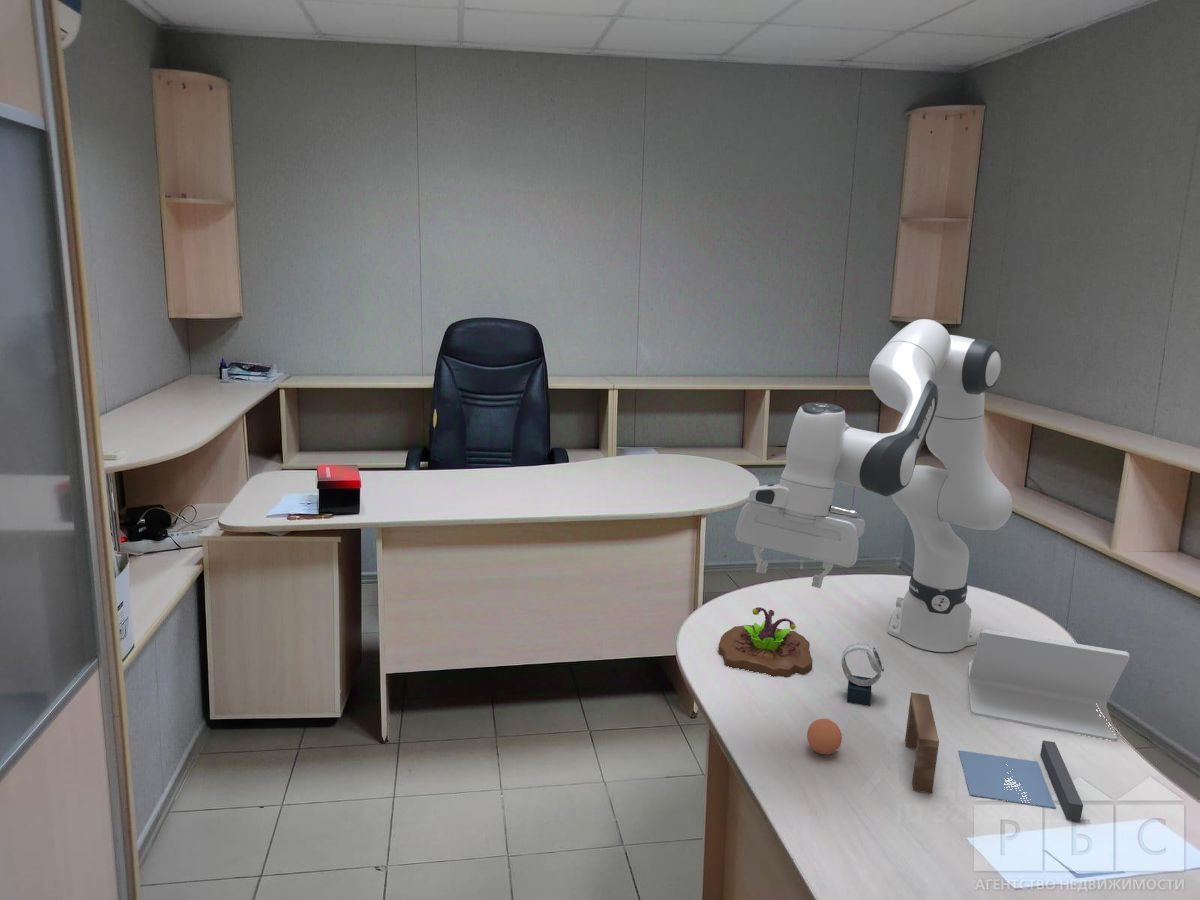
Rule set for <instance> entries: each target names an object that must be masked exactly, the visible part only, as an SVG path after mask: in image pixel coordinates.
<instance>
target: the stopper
mask: <svg viewBox="0 0 1200 900" xmlns="http://www.w3.org/2000/svg"><path fill="white" fill-rule="evenodd" d="M1039 756H1040V758H1041V761H1042V763H1043V765H1044V768H1045V770H1046V772H1047V776H1048V778H1049V780H1050V783H1051V785H1052V788H1053V790H1054V793H1055V796H1056V797H1057V799H1058V802H1059V805H1060V808H1061V810H1062V812H1063V814H1064V815H1063V816H1064V817H1065V819H1066V820H1067V821H1072V822H1079V823H1080V822H1081V819H1082V814H1083V809H1084V804H1083V802H1082V799H1081V797H1080V795H1079V793H1078V790H1077V788H1076V786H1075V784H1074V782H1073V779H1072V777H1071V775H1070V773H1069V771H1068V768H1067V765H1066V763H1065V762H1064V759H1063V757H1062V755H1061V753H1060V751H1059V748H1058V745H1057V743H1056V742H1055V741H1051V740H1042V741H1041V749H1040V755H1039Z"/></svg>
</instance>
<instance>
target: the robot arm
mask: <svg viewBox="0 0 1200 900" xmlns="http://www.w3.org/2000/svg"><path fill="white" fill-rule="evenodd" d="M1001 369H1002V355H1001V352H1000V349H998V347H997V346H996V344H994V343H993V342H991V341H988V340H984V339H981V338H975V339H974V338H971V337H965V336H961V335H956V334H955V335H954V334H950V333H949V332H948V329H946V328H945V327H944V326H943V324H941V323H939V322H938V321H936V320H933V319H929V318H921V319H917V320H913V321H912V322H910V323H908V324H907V325H905V326H904V327H903V328H902V329H900V330H899V331H898V332H897V333H896V334H895V335H894V336H893V337H892V338H891V339H890V340H889V341H887V343H886V344H885V345H884V346H883V348H882V349H881V350H880V351H879V352H878V353H877V354H876V356H875V358H874V359H873V361H872V363H871V364H870V367H869V372H868V377H869V383H870V386H871V389H872V391H873V393H874V394H875V396H876V397H877V398H878V399H879V400H880V401H881V403H883V404H884V405H885V406H887V407H889V408H891V409H893V410H895V411H897V412H900V413H901V414H902V416H901V418H900V419H899V422H898V424H897V426H896V429H895V430H894V431H892V432H882V433H881V432H875V431H871V430H870V431H869V430H865V429H860V428H855V427H853V426H850V425H849V424H848V423H847V422H846V411H845V408H843V407H841V406H839V405H836V404H833V403H827V402H808V403H805V404H802V405H800V407H799V408H798V410H797V412H796V413H795V416H794V419H793V421H792V425H791V427H790V430H789V431H790V432H789V436H788V440H787V444H786V449H785V458H786V459H785V460H786V462H785V465H784V466H785V467H784V469H783V471H782V473H781V476H780V480H779V483H778V484H774V483H771V484H766V485H758V486H755V487H753V488H752V489H751V490H750V492H749V495H748V496H749V497H748V499H749V500H750V501H749V502H747V503H745V505H744V506H743V507H742V509H741V510H740V513H739V516H738V520H737V523H736V526H735V530H734V531H735V532H734V536H735V538H736V540H737V541H738V542H740V543H745V544H749V545H753V548H752V553H753V555H754V558H755V562H756V563H757V564H756V569H755V572H756V573H758V574H761V575H766V573H767V570H768V569H767V568H768V566H769V563H768V562H766V561H764V559H763V555H762V553H763V551H764V550H765V549H769V550H774V551H777V552H781V553H785V554H790V555H794V556H798V557H802V558H806V559H810V560H815V561H819V562H822V569H824V570H823V571H822V572H821V573H820V574H819V575H818V574H813V577H812V582H811V587H813V588H817V589H821V588H822V585H823V580H824V578H825V577H826V576H827V575H828V574H829V573H830V572H831V571H832V569H833V567H834V565H835V566H839V567H844V568H847V569H849V568H851V567H852V566H854V565H855V564H856V563H857V560H858V555H859V554H858V553H859V545H860V544H859V543H860V539H861V538H862V537H863V536H864V533H865V529H866V526H867V525H866V519H865V518H864V516H863V515H861V514H860V513H859V511H856V510H853V509H847V508H843V507H839V506H836V505H832V502H833V497H834V491H835V487H836V482H838V483H841V484H844V485H845V484H846V485H849V486H853V487H856V488H862V489H865V490H866V491H869V492H872V493H874V494H877V495H880V496H883V497H890V496H891V497H892V500H893V502H894V504H895V505H896V506H897V507H898V508H899V509H900V510H901V512H902V513H903V514H904V515H905V517H906V518H907V519H906V520H907V521H908V524H909V525H910V528H911V531H912V535H913V540H914V561H913V572H912V574H911V575H910V578H909V581H908V582H909V583H908V590H907V591H906V593H905V595H904V597H900V596H898V597H896V603H895V609H894V611H893V613H892V616H891V620H890V622H889V626H888V630H887V633H888V634H889V635H891V636H893V637H895V638H898V639H901V640H902V641H903V642H905V643H907V644H909V645H911V646H913V647H915V648H918V649H922V650H925V651H929V652H930V651H931V652H936V653H937V652H938V653H951V652H957V651H960V650H963V649H964V648H967V647H969V646H974V645H977V638H976V636H974V634H973V633H972V632H971V623H972V622H971V619H972V608H971V607H970V605H969V604H968V603H967V602H966V599H967V595H968V583H967V577H968V570H969V569H968V568H969V562H970V552H969V551H970V550H969V547H968V546H967V544H966V542H964V541H963V540H962V538H960V537H959V536H958V535H957V534H956V533H955V532H954V530H953V528H952V527H951V525H950V524H954V525H957V526H961V527H964V528H968V529H973V530H982V531H985V530H986V531H997V530H998V529H1000V528H1002V527H1003V526H1004V525H1005V524H1006V523H1007V522H1008V521H1009V519H1010V517H1011V515H1012V512H1013V508H1014V506H1013V505H1014V504H1013V503H1014V502H1013V499H1012V495H1011V492H1010V490H1009V489H1008V488H1007V486H1005V485H1004V484H1003V483H1002V482H1001V481H1000V480H999V479H998V478H997V476H996V475H995V474H994V472H993V470H992V468H991V467H990V465H989V462H988V461H987V457H986V454H985V450H984V421H985V420H984V417H985V405H986V404H985V403H986V402H985V400H986V399H985V395H986V394H985V393H986V392H987V391H989V390H990V389H992V388H993V387H994V386H995V385H996V384H997V381H998V379H999V376H1000V373H1001ZM924 441H925V443H926V446H927V448H928V450H929V452H931V454H933V456H935V457H936V458H937V459H938V460H939V461H940V462H941V463H942V464H943V466H944V467H945V469H943V468H940V467H935V466H931V465H926V464H925V465H922V464H920V465H919V464H917V459H918V456H919V454H920V451H921V448H922V446H923V444H924ZM835 481H836V482H835Z"/></svg>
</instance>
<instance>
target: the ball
mask: <svg viewBox="0 0 1200 900" xmlns="http://www.w3.org/2000/svg"><path fill="white" fill-rule="evenodd" d="M806 739H807V742H808V745H809V747H810V748H811V749H812V750H813V751H815V752H816V753H818V754H819V755H820V754H821V755H831V754H834V753H835V752H837V750H839V748H840V746H842V745H841V744H842V741H843V734H842V730H841V728H840V727H839V726H838V724H837V723H835V721H833V720H830V719H827V718H818V719H815V720H814V721H812V723H811V724H810V725H809V726H808V728H807V730H806Z"/></svg>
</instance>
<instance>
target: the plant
mask: <svg viewBox="0 0 1200 900" xmlns="http://www.w3.org/2000/svg"><path fill="white" fill-rule="evenodd" d="M761 612H763V613H764V621H763V622H762V623H761V625H759V624H758V623H757V622H754V623H753V624H752V625H749V624H745V625H737V626H733V627H732V628H731V629H728V630H727V631H726V632H724V633H723V634H722V635H721V636H720V639H719V643H718V654H719V655H720V656H721V655H722V656H723V657H722V656H721V657H722V658H724V659H723V662H724V661H725V662H724V666H725V665H726V666H725V667H727V666H729V667H728V668H730V667H732V668H731V669H734V668H739V669H738V670H741V669H745V670H744V671H746V670H749V671H753V672H752V673H755V672H759V673H758V674H763V673H766V674H765V675H767V674H768V676H770V675H771V676H770V677H772V676H773V677H772V678H775V677H783V676H784V678H789V677H791V675H792V674H793V675H795V673H798V675H801V676H804V675H807V674H808V673H810V672H811V671H812V669H813V658H812V654H811V652H810V641H809V640H807V639H806V637H805V636H804V635H802V634H800V633H798V632H797V631H796V630H795V629H796V627H797V626H796V623H795V622H794V621H793V620H791V619H789V618H779V619H777V620H775V622H774V623H773V622H772V621H773V617H774V616H775V610H773V609H769V610H768V611H767V610H766V609H765V608H763V607H759V606H758V607H754V608H753V609H752V612H751V613H752V614H753V615H754V616H757V615H759V614H760V613H761ZM783 622H788V623H789V628H784V629H782V628H778V626H780V624H782V623H783ZM749 671H748V672H749ZM806 673H807V674H806ZM779 675H780V676H779ZM793 675H792V676H793ZM774 676H775V677H774Z"/></svg>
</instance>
